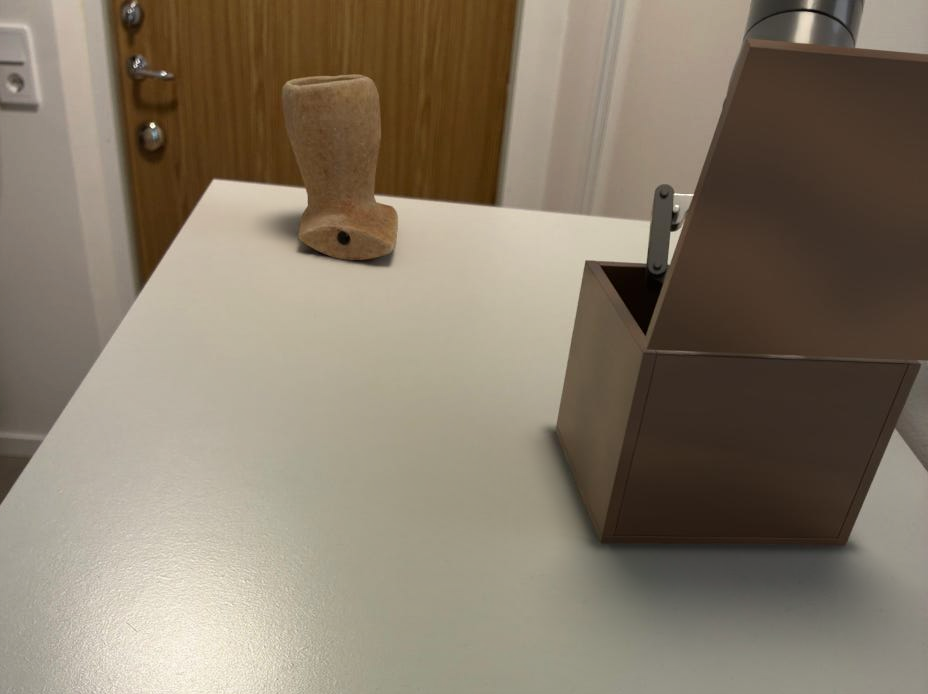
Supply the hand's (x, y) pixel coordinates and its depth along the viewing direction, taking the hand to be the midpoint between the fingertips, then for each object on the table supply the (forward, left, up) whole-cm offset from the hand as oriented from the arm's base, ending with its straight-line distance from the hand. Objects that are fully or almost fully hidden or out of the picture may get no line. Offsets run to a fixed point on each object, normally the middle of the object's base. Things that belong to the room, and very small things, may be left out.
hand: (728, 364), depth 61 cm
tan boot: (+23, -49, -10) cm, 55 cm away
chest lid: (0, +7, +11) cm, 13 cm away
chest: (0, -1, -10) cm, 10 cm away
